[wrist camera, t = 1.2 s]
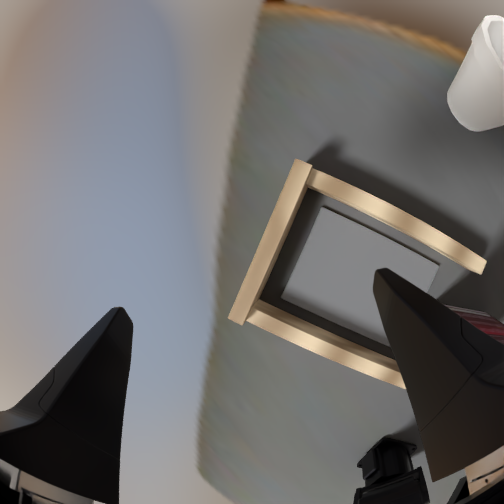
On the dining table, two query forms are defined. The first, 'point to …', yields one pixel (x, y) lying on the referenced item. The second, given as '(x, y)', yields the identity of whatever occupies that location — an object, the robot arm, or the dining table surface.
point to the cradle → (271, 245)
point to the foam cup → (481, 79)
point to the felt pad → (350, 273)
